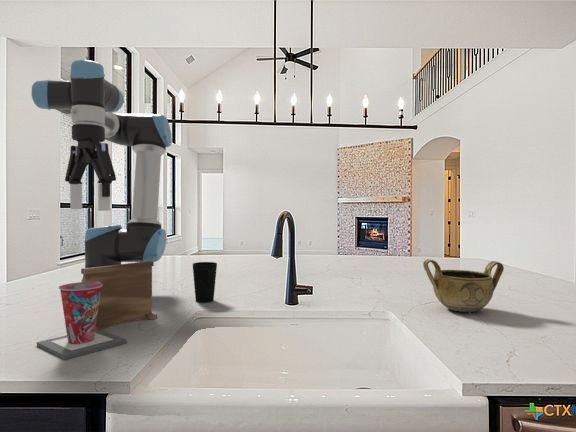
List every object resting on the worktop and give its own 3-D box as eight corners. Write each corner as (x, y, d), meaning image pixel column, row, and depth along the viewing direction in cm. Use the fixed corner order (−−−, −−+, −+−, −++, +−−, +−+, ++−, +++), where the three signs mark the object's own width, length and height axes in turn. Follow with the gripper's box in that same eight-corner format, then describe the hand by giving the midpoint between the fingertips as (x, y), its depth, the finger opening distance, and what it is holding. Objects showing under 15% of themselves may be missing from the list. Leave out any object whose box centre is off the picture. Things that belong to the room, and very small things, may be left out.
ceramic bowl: (432, 316, 115) (432, 262, 115) (416, 302, 132) (416, 255, 132) (514, 318, 114) (515, 263, 114) (487, 304, 131) (488, 256, 131)
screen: (76, 329, 101) (76, 267, 100) (145, 314, 116) (145, 260, 115) (89, 334, 97) (89, 270, 97) (158, 317, 112) (158, 262, 112)
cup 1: (99, 344, 87) (99, 287, 87) (54, 348, 84) (54, 289, 84) (105, 332, 96) (105, 280, 95) (64, 335, 93) (64, 281, 93)
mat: (36, 345, 88) (36, 341, 88) (96, 331, 99) (96, 328, 99) (65, 359, 81) (65, 355, 81) (126, 342, 91) (126, 338, 91)
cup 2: (211, 304, 128) (211, 265, 128) (188, 302, 130) (188, 264, 130) (220, 298, 136) (220, 262, 136) (198, 297, 137) (198, 261, 137)
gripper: (49, 127, 108) (51, 208, 110) (100, 117, 94) (102, 211, 95) (78, 131, 115) (79, 208, 116) (130, 122, 100) (131, 210, 101)
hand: (89, 209), depth 105 cm, fingers open, 13 cm apart
